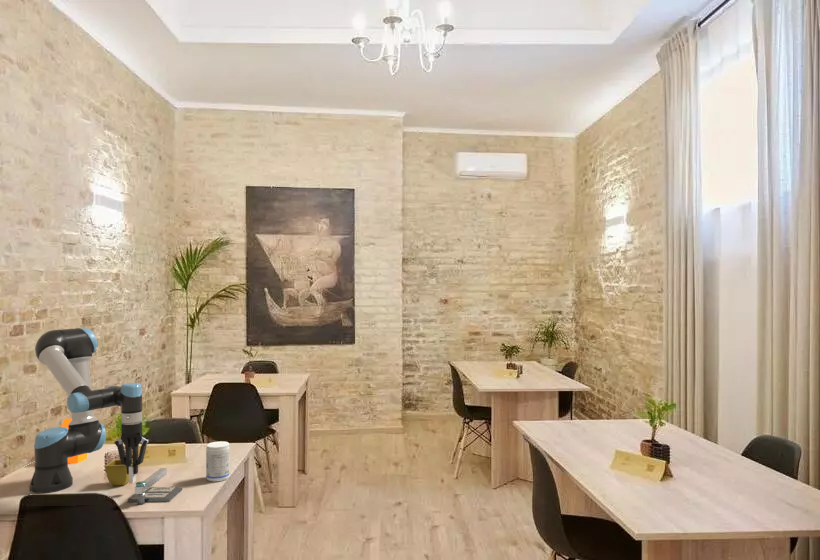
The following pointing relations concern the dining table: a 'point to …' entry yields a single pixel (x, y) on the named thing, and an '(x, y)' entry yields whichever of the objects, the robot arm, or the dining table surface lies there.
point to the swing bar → (150, 481)
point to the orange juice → (79, 457)
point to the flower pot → (117, 473)
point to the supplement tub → (217, 461)
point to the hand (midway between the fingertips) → (132, 482)
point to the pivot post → (141, 499)
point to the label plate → (158, 494)
